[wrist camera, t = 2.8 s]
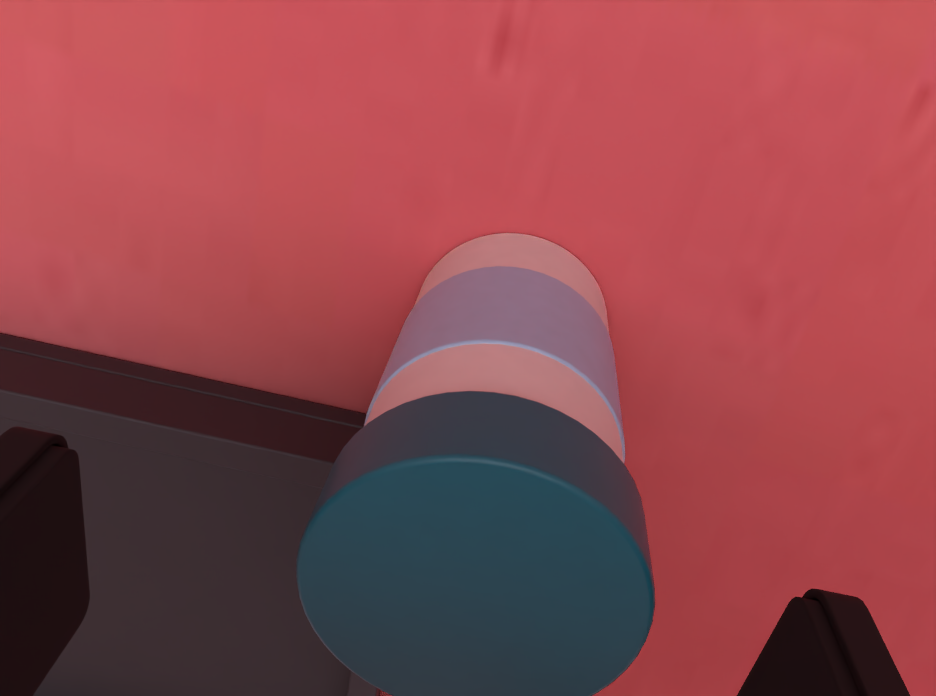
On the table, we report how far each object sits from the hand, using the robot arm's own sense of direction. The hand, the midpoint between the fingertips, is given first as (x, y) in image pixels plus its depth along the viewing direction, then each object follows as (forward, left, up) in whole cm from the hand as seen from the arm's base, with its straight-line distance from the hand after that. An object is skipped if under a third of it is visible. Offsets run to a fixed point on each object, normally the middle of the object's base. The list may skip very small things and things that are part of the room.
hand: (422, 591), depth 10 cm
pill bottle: (0, +1, -8) cm, 8 cm away
